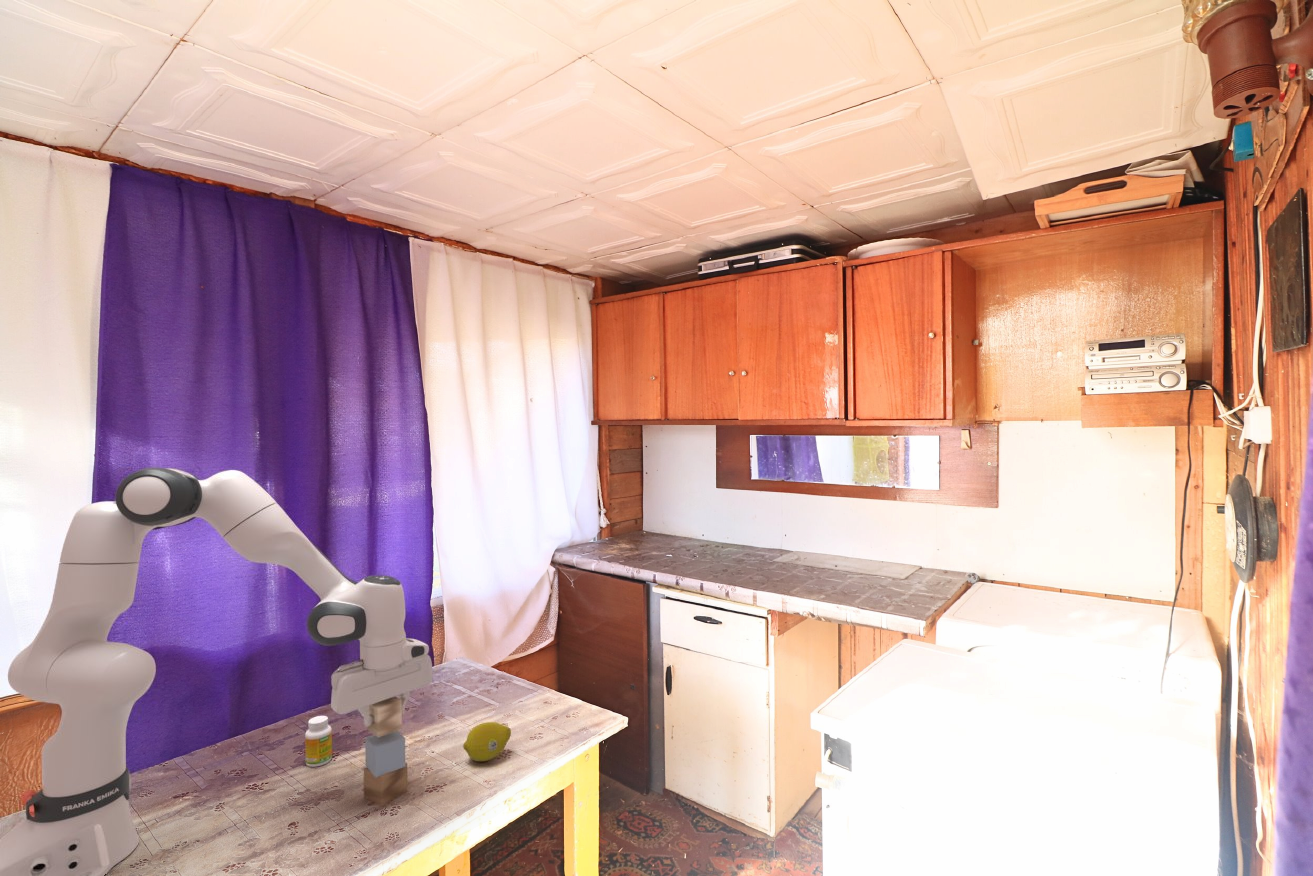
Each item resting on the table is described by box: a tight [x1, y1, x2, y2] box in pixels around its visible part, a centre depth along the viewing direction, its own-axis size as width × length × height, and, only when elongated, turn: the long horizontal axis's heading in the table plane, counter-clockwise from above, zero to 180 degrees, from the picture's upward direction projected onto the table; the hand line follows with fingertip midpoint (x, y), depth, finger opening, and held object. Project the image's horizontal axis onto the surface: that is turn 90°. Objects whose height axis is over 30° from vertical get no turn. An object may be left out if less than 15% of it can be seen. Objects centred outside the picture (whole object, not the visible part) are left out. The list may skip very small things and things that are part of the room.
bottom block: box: [363, 762, 409, 807], centre depth 130 cm, size 6×6×6 cm
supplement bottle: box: [304, 715, 333, 768], centre depth 143 cm, size 5×5×10 cm
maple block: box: [366, 696, 403, 737], centre depth 130 cm, size 5×5×6 cm
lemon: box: [462, 721, 512, 763], centre depth 144 cm, size 11×8×8 cm
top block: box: [364, 730, 407, 777], centre depth 130 cm, size 6×6×6 cm
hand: (384, 719), depth 130 cm, fingers closed on maple block, 5 cm apart
